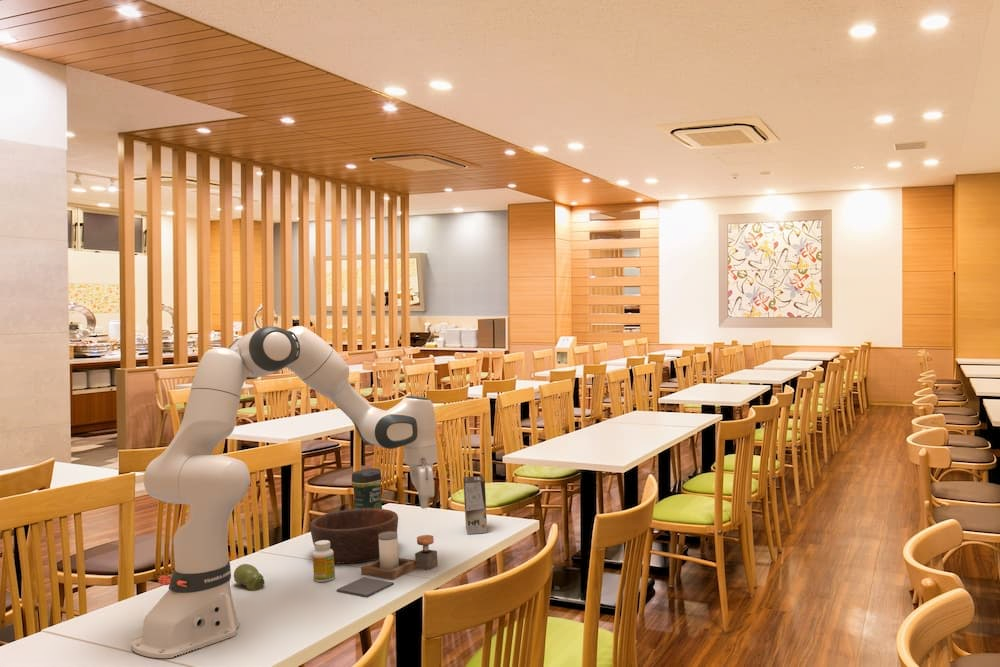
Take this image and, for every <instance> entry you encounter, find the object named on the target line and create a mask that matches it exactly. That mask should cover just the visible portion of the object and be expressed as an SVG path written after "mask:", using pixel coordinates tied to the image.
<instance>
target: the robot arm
mask: <svg viewBox="0 0 1000 667" xmlns="http://www.w3.org/2000/svg"><path fill="white" fill-rule="evenodd" d="M285 368H286V369H288V370H290V371H291V372H293V373H294V375H296V377H297V378H298V379H300V380H301V381H302V382H303V383H305V385H306V386H308V387H309V388H310V389H312V390H313V391H315V392H316V393H318V394H320V395H321V396H323V397H325V398H327V399H328V400H330V401H331V402H332V403H333V404H335V406H337V408H339V409H340V410H341V411H342V413H343V414H345V415H346V417H348V418H349V419H350V420H351V422H352V424H353V425H354V427H355V430H356V432H357V434H358V436H359V438H360V439H361V440H362V441H363V442H364V443H366V444H367V445H371V446H377V447H380V448H382V449H387V450H393V449H397V448H401V447H403V457H404V464H405V465H407V466H408V469H409V476H410V480H411V481H410V482H411V483H412V485H413V486H414V488H415V490H416V491H417V494H418V499H419V506H420V508H421V509H427V508H428V507H429V506H428V501H429V498H434V496H435V482H434V479H435V478H434V472H433V469H434V464H436V463H437V462H438V461H439V460H438V445H437V444H438V443H437V439H436V429H437V428H436V427H437V425H436V418H435V417H436V415H435V408H434V404H433V401H432V400H430V398H427V397H423V396H418V395H417V396H415V395H406V396H405V397H403V398H402V400H400V401H399V402H398V403H397V404H396V405H394V406H392V407H391V408H389V409H387V410H385V409H382V408H380V407H378V406H377V407H376V406H373V405H371V403H369V402H367V400H366V399H365V398H364V397H362V396H361V394H360V393H359V392H358V391H357V390H356V389H355V388H354V387H353V386H352V384H351V383H350V380H349V378H350V368H349V365H348V364H347V363H346V361H345V360H344V359H343V357H342V355H340V354H339V353H338V352H337V351H336V349H334V347H332V346H331V345H330V344H329V343H328V342H327V341H326V340H325V339H323V338H321V337H320V336H319V335H318V334H317V333H315V332H313V331H312V330H310V329H309V328H307V327H306V326H302V325H296V326H292V327H290V328H289V329H287V330H286V329H284V328H282V327H277V326H264V327H261V328H259V329H256V330H252V331H250V332H248V333H246V334H244V335H243V336H241V337H239V338H237V339H236V340H234V341H233V342H232V343H231V344H230V345H229V346H228V347H213V348H210V349H208V350H207V351H205V352H204V354H203V355H202V356H201V359H200V362H199V363H198V365H197V367H196V370H195V372H194V375H193V379H192V381H191V382H192V383H191V386H190V391H189V395H188V398H187V403H186V407H185V411H184V414H183V418H182V420H181V423H180V425H179V428H178V430H177V432H176V433H175V435H174V437H173V438H172V439H171V442H170V443H169V445H168V446H167V447H166V448H165V449H164V451H163V452H162V453H161V454H160V455H158V456H157V457H155V458H154V459H153V460H151V461H150V462H149V464H147V467H146V468H145V471H144V474H143V486H144V489H145V492H146V493H147V494H148V495H149V496H150V497H151V498H154V499H156V500H158V501H161V502H164V503H167V504H176V505H177V504H178V505H179V504H180V505H188V506H189V514H188V517H187V521H186V523H184V524H182V525H181V526H180V527H179V528H178V529H177V530H176V531H175V533H174V536H173V556H174V569H173V571H172V574H171V576H169V575H166V574H162V575H159V578H158V584H160V585H164V586H168V589H167V591H166V592H165V593H164V594H163V596H162V597H161V598H160V599H159V600H158V601H157V603H156V604H155V605H154V606H153V607H152V608H151V610H150V611H148V613H147V614H146V615H145V617H144V619H143V625H142V636H141V637H138V638H137V639H135V640H133V641H132V642H131V645H130V648H131V650H132V651H133V652H134V653H136V654H137V655H141V656H143V657H148V658H155V659H171V658H175V657H174V656H176V657H178V656H177V655H179V656H181V655H184V654H186V652H187V653H190V652H192V651H191V650H193V651H195V649H196V650H198V648H199V649H201V648H203V647H207V646H210V645H213V644H215V643H218V642H221V641H224V640H227V639H229V638H232V637H235V636H237V629H238V627H239V626H240V620H239V618H238V616H237V612H236V609H235V606H234V605H235V604H234V601H233V596H232V591H231V583H230V582H231V578H232V573H231V572H232V571H231V563H230V561H229V556H228V554H229V553H228V528H229V522H230V518H231V515H232V512H233V511H234V509H235V508H236V506H237V504H238V503H240V502H241V501H242V500H243V499H244V498H245V497H246V495H247V494H248V492H249V488H250V485H251V473H250V470H249V467H248V466H247V464H246V463H245V462H244V461H243V460H241V459H237V458H234V457H232V456H227V455H224V454H213V452H214V450H215V449H216V447H217V446H218V445H219V443H221V442H222V441H223V440H225V439H227V438H228V437H230V435H231V434H233V432H234V430H235V425H236V421H237V416H238V412H239V411H238V410H239V406H240V403H241V402H240V401H241V397H242V391H243V387H244V384H245V381H246V380H254V379H258V378H260V377H266V376H270V375H272V374H274V373H276V372H278V371H282V369H285ZM189 651H190V652H189ZM183 653H184V654H183ZM180 654H181V655H180Z"/></svg>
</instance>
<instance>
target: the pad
mask: <svg viewBox="0 0 1000 667" xmlns="http://www.w3.org/2000/svg"><path fill="white" fill-rule="evenodd" d="M394 585H395V584H394V582H393V581H387V580H382V579H378V578H371V577H361V578H359V579H357V580H354V581H352V582H349V583H347V584H345V585H344V586H340V587H338V588H336V592H337V593H340V594H346V595H352V596H357V597H362V598H369V597H372V596H374V595H375V594H379V593H380V592H381V591H384V590H386V589H388V588H390V587H392V586H394Z"/></svg>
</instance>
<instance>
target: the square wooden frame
mask: <svg viewBox="0 0 1000 667" xmlns="http://www.w3.org/2000/svg"><path fill="white" fill-rule="evenodd" d="M414 558H415V559H409V558H403V557H399V566H398V567H396V568H394V569H392V570H390V569H383V568H380V558H378V559H377V560H376V559H375V561H372V562H370V563H367V564H366V565H362V566H361V567H360V570H361V573H360V575H363V576H368V577H373V578H377V579H379V578H380V579H384V580H385V579H386V580H391V581H393V580H395V579H398V578H400V577H402V576H403V575H406V574H408V573H410V572H413V571H414V570H416V569H418V570H424V571H425V570H426V571H431V570H432V569H434V568H436V567H437V566H439V564H438V563H439V562H438V550H434V549H429V553H428V554H423V549H422V550H420V551H417V552H415V553H414Z"/></svg>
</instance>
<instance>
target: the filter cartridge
mask: <svg viewBox="0 0 1000 667" xmlns="http://www.w3.org/2000/svg"><path fill="white" fill-rule="evenodd" d="M378 537H379V557H380V558H379V559H380V568H383V569H390V570H392V569H394V568H396V567H398V566H399V558H400V557H399V540H398V539H399V538H398V531H397V532H393V531H388V532H382V533H380V534H378Z"/></svg>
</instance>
